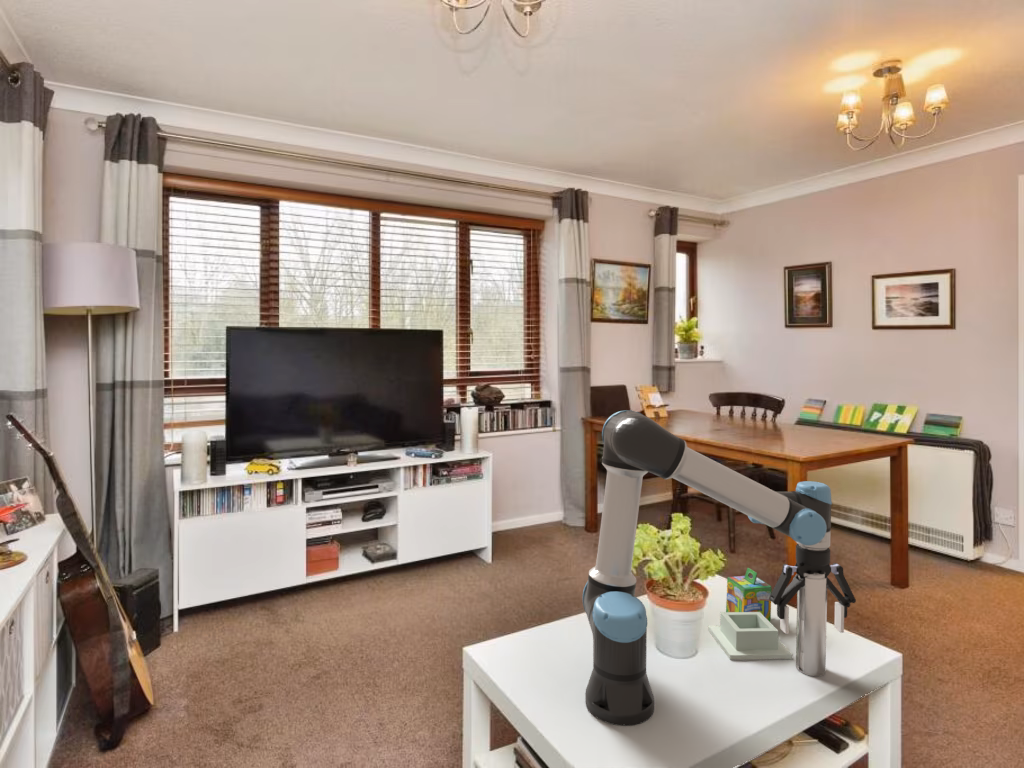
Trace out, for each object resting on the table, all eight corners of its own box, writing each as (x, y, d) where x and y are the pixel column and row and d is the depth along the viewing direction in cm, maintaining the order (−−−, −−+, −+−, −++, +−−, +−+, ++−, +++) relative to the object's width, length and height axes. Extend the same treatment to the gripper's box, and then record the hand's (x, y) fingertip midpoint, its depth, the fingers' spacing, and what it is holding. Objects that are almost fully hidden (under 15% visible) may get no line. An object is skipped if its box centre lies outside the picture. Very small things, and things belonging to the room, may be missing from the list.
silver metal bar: (829, 678, 139) (831, 576, 138) (800, 675, 140) (802, 574, 139) (820, 664, 145) (822, 566, 144) (792, 661, 147) (794, 564, 145)
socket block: (730, 659, 148) (730, 636, 147) (708, 629, 164) (708, 608, 163) (792, 659, 148) (792, 635, 147) (764, 629, 164) (764, 607, 163)
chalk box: (725, 614, 173) (725, 565, 173) (752, 611, 175) (753, 563, 174) (743, 628, 164) (744, 577, 164) (772, 625, 166) (773, 575, 165)
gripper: (769, 551, 137) (768, 638, 138) (873, 550, 138) (871, 636, 139) (755, 541, 145) (754, 624, 146) (854, 539, 145) (852, 622, 146)
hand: (811, 630), depth 142 cm, fingers open, 13 cm apart
